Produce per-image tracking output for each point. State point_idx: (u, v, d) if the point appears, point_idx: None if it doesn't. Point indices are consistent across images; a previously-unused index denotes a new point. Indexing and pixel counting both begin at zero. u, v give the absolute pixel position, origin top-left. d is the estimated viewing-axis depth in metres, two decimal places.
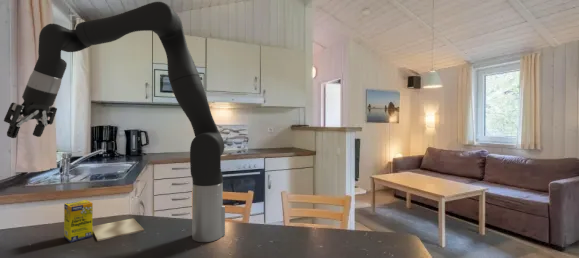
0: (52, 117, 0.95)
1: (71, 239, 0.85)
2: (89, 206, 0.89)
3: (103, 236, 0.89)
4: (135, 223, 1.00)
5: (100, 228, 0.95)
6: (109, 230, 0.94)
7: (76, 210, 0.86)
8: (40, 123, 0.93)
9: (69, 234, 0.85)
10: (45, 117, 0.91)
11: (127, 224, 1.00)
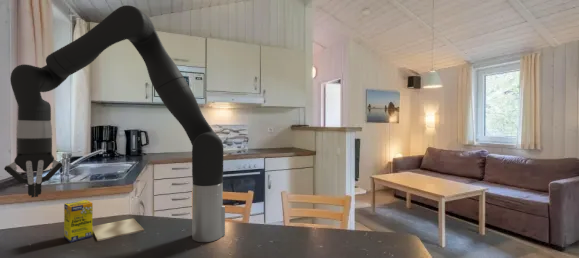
0: (51, 172, 0.83)
1: (71, 239, 0.85)
2: (89, 206, 0.89)
3: (103, 236, 0.89)
4: (135, 223, 1.00)
5: (100, 228, 0.95)
6: (109, 230, 0.94)
7: (76, 210, 0.86)
8: (36, 181, 0.82)
9: (69, 234, 0.85)
10: (40, 170, 0.81)
11: (127, 224, 1.00)
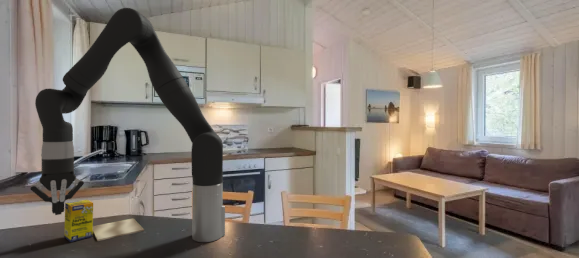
0: (74, 190, 0.87)
1: (71, 239, 0.85)
2: (90, 206, 0.89)
3: (103, 236, 0.89)
4: (135, 223, 1.00)
5: (100, 228, 0.95)
6: (109, 230, 0.94)
7: (77, 210, 0.86)
8: (59, 199, 0.86)
9: (70, 234, 0.85)
10: (63, 189, 0.85)
11: (127, 224, 1.00)
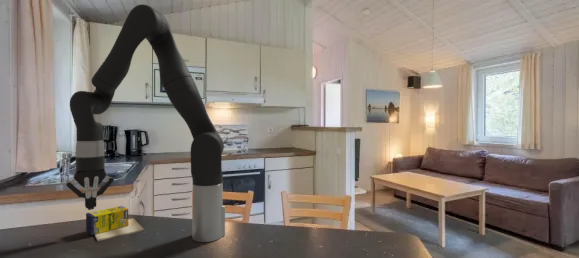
0: (104, 187, 0.92)
1: (95, 217, 0.90)
2: (125, 224, 0.97)
3: (103, 236, 0.89)
4: (135, 223, 1.00)
5: None
6: None
7: (124, 214, 0.96)
8: (91, 195, 0.91)
9: (100, 214, 0.91)
10: (96, 185, 0.90)
11: None
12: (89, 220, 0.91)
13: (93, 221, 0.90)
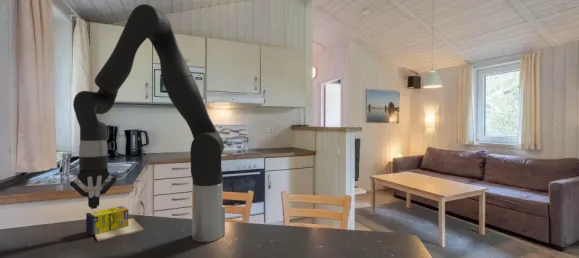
0: (107, 186, 0.93)
1: (95, 217, 0.90)
2: (125, 224, 0.97)
3: (103, 236, 0.89)
4: (135, 223, 1.00)
5: None
6: None
7: (124, 214, 0.96)
8: (94, 194, 0.92)
9: (100, 214, 0.91)
10: (99, 184, 0.91)
11: None
12: (89, 220, 0.91)
13: (93, 221, 0.90)
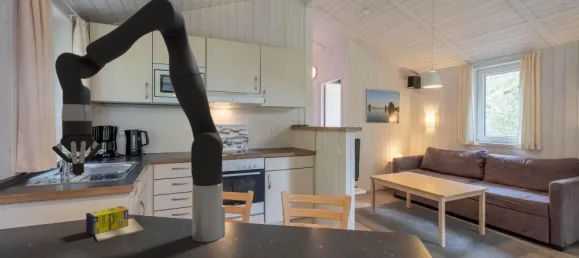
0: (92, 153, 0.90)
1: (95, 217, 0.90)
2: (125, 224, 0.97)
3: (103, 236, 0.89)
4: (135, 223, 1.00)
5: None
6: None
7: (124, 214, 0.96)
8: (79, 161, 0.89)
9: (100, 214, 0.91)
10: (83, 150, 0.88)
11: None
12: (89, 220, 0.91)
13: (93, 221, 0.90)
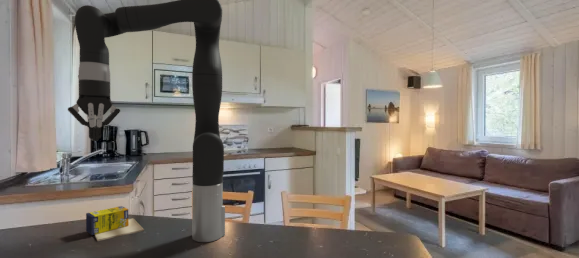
0: (110, 117, 0.83)
1: (95, 217, 0.90)
2: (125, 224, 0.97)
3: (103, 236, 0.89)
4: (135, 223, 1.00)
5: None
6: None
7: (124, 214, 0.96)
8: (96, 125, 0.82)
9: (100, 214, 0.91)
10: (101, 113, 0.81)
11: None
12: (89, 220, 0.91)
13: (93, 221, 0.90)
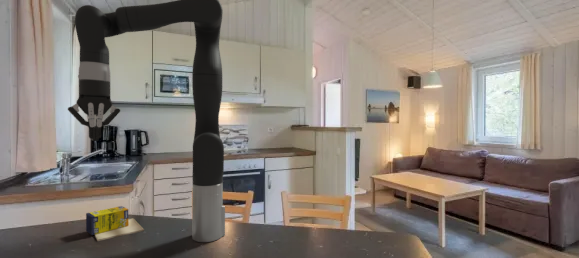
0: (110, 117, 0.83)
1: (95, 217, 0.90)
2: (125, 224, 0.97)
3: (103, 236, 0.89)
4: (135, 223, 1.00)
5: None
6: None
7: (124, 214, 0.96)
8: (96, 125, 0.82)
9: (100, 214, 0.91)
10: (101, 113, 0.81)
11: None
12: (89, 220, 0.91)
13: (93, 221, 0.90)
